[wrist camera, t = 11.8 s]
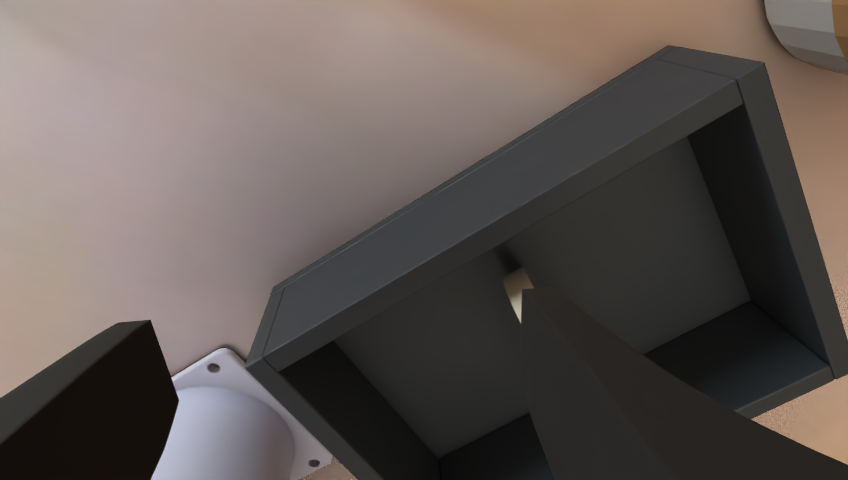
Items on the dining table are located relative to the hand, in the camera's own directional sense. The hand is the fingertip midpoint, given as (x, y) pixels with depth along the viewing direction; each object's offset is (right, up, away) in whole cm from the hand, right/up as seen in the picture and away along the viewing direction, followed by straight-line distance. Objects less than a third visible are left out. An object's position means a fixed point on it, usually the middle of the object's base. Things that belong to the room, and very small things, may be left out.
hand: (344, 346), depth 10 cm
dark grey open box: (+6, 0, +12) cm, 14 cm away
